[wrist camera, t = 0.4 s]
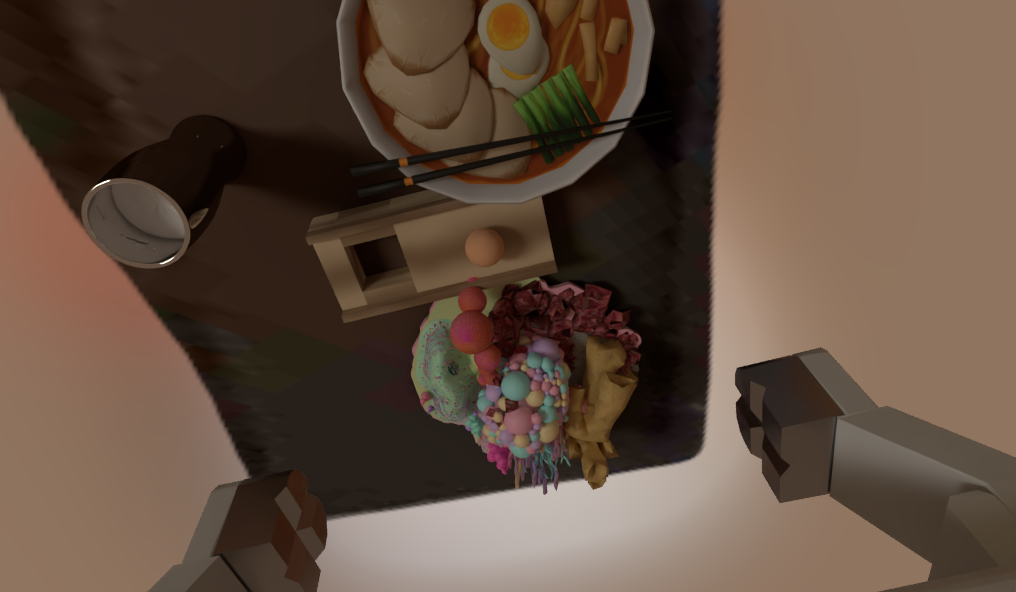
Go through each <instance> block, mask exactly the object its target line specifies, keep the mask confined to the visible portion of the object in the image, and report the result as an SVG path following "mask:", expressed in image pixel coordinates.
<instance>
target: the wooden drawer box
mask: <svg viewBox="0 0 1016 592" xmlns="http://www.w3.org/2000/svg"><path fill="white" fill-rule="evenodd" d="M481 228H489V229H492V230H494V231H496V232H497V233H498V234H499V235H500V236H501V238H502V240H503V243H504V252H503V255H502V257H501V259H500V260H499V261H498V262H497V263H496V264H494V265H492V266H490V267H480V266H477V265H475V264H473V263H472V262H471V261H470V260H469V259H468V257H467V255H466V251H465V244H466V240H467V238H468V237H469V235H470V234H471V233H472V232H473V231H475V230H477V229H481ZM396 234H397V237H398V240H399V243H400V245H401V248H402V251H403V254H404V256H405V259H406V262H407V265H408V266H407V267H403V268H398V269H394V270H390V271H386V272H382V273H378V274H374V275H369V276H365V273H364V271H363V268H362V266H361V264H360V261H359V259H358V256H357V254H356V251H355V249H354V247H353V245H355V244H359V243H363V242H367V241H371V240H376V239H380V238H384V237H388V236H392V235H396ZM305 238H306V240H307V242H308V245H311V244H313V246H314V248H315V250H316V252H317V255H318V257H319V259H320V261H321V264H322V266H323V268H324V270H325V272H326V275H327V277H328V279H329V281H330V283H331V286H332V288H333V290H334V292H335V295H336V297H337V299H338V301H339V303H340V306H341V308H342V310H343V312H342V316H341V317H342V319H343V321H344V323H346V322H350V321H355V320H359V319H363V318H367V317H371V316H376V315H380V314H384V313H388V312H392V311H397V310H401V309H405V308H409V307H413V306H418V305H422V304H426V303H430V302H434V301H439V300H443V299H447V298H451V297H455V296H459V294H460V293H461V292H462V291H463V290H464V289H466V288H468V287H477V288H480V289H481V290H485V289H489V288H493V287H497V286H502V285H506V284H510V283H514V282H518V281H523V280H527V279H531V278H535V277H539V276H544V275H548V274H552V273H556V272H558V271H557V267H556V263H555V260H554V255H553V250H552V245H551V240H550V236H549V231H548V226H547V221H546V216H545V212H544V207H543V202H542V197H538V198H536V199H533V200H531V201H528V202H525V203H523V204H467V203H464V202H461V201H459V200H456V199H453V198H451V197H448V196H445V195H443V194H440V193H437V192H435V191H432V190H425V191H420V192H416V193H412V194H408V195H404V196H400V197H396V198H392V199H388V200H384V201H380V202H376V203H372V204H368V205H364V206H360V207H356V208H351V209H347V210H343V211H339V212H335V213H331V214H327V215H323V216H319V217H315V218H313V220H312V222H311V225H310V227H309V229H308V232H307V234H306V237H305ZM471 277H477V278H478V279H477V280H475V281H472V282H467V280H468V279H469V278H471Z"/></svg>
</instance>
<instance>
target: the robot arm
mask: <svg viewBox="0 0 1016 592" xmlns="http://www.w3.org/2000/svg"><path fill="white" fill-rule="evenodd" d="M735 385H736V387H737V389H738V390H739V392H740V393H741V397H740V398H739V400H738V401H737V402H736V414H737V420H738V424H739V428H740V432H741V434H742V437H743V439H744V441H745V444H746V445H747V447H748V449H749V451H750V453H751V454H753V455H755V456H757V457H758V458H761V459H762V474H763V475H764V477H765V479H766V480H767V482H768V484H769V486H770V487H771V489H772V491H773V492H774V494H775V496H776V497H777V499H778V501H779V502H780V503H783V502H788V501H793V500H798V499H803V498H809V497H814V496H820V495H825V494H830V496H831V497H832V498H833V499H835V500H837V501H838V502H840V503H841V504H843V505H844V506H846V507H847V508H849V509H850V510H852V511H854V512H855V513H856V514H858V515H859V516H861V517H862V518H864V519H865V520H867V521H868V522H870V523H871V524H873V525H874V526H876V527H877V528H879V529H880V530H882V531H884V532H885V533H886V534H888V535H890V536H891V537H892V538H894V539H895V540H897V541H898V542H900V543H902V544H903V545H905V546H906V547H908V548H909V549H911V550H912V551H914V552H915V553H917V554H918V555H920V556H921V557H923V558H924V559H926V560H927V561H929V562H930V563H932V567H931V571H930V575H929V578H928V581H927V582H922V583H918V584H913V585H908V586H903V587H899V588H894V589H889V590H885V591H880V592H1016V457H1013V456H1011V455H1008V454H1006V453H1003V452H1001V451H998V450H995V449H993V448H991V447H988V446H986V445H983V444H981V443H978V442H976V441H973V440H971V439H968V438H966V437H963V436H961V435H958V434H956V433H953V432H951V431H948V430H946V429H944V428H941V427H938V426H936V425H933V424H931V423H929V422H926V421H924V420H921V419H919V418H916V417H914V416H911V415H908V414H906V413H904V412H901V411H899V410H896V409H893V408H891V407H889V406H885V407H880V408H879V407H878V406H877V405H876V404H875V403H874V402H873V401H872V400H871V399H870V398H869V396H868V395H867V394H866V393H865V392H864V391H863V390H862V389H861V388H860V386H859V385H858V384H857V383H856V382H855V381H854V380H853V379H852V378H851V376H850V375H849V374H848V373H847V372H846V371H845V370H844V369H843V368H842V367H841V365H840V364H839V363H838V362H837V361H836V360H835V359H834V358H833V357H832V355H830V354H829V352H828V351H827V350H825V349H823V348H817V349H813V350H809V351H805V352H800V353H796V354H793V355H792V356H790V355H789V356H785V357H781V358H777V359H772V360H768V361H764V362H760V363H755V364H751V365H748V366H743V367H739V368H737V370H736V373H735ZM307 486H308V481H307V479H306V478H305V476H304V474H303V473H302V471H301V470H295V469H294V470H289V471H284V472H279V473H274V474H269V475H264V476H259V477H254V478H249V479H244V480H243V481H238V482H233V483H228V484H223V485H218V486H217V487H216V488H215V489H214V490H213V491H212V492H211V494H210V496H209V499H208V501H207V504H206V506H205V508H204V511H203V513H202V516H201V518H200V521H199V523H198V526H197V528H196V530H195V533H194V535H193V538H192V540H191V542H190V545H189V547H188V550H187V552H186V554H185V557H184V559H183V562H182V564H179V565H175V566H173V567H172V568H171V569H170V570H169V571H168V572H167V573H166V574H165V575H164V576H163V577H162V578H161V579H160V580H159V581H158V582H157V583H156V584H155V585H154V586H153V587H152V588H151V589H150V590H149V591H148V592H317V587H318V582H319V577H320V572H321V570H320V569H319V567H318V566H317V564H316V562H315V560H316V559H317V558H318V556H319V555H320V554H321V552H322V551H323V550H324V549H325V545H326V538H327V520H326V515H325V512H324V509H323V506H322V504H321V503H320V501H319V499H318V498H317V497H315V496H313V495H311V494H309V493H307V492H306V490H307Z"/></svg>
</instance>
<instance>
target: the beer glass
mask: <svg viewBox="0 0 1016 592" xmlns="http://www.w3.org/2000/svg"><path fill="white" fill-rule="evenodd" d="M245 163H246V151H245V147H244V144H243V142H242V140H241V138H240V136H239V135H238V134H237V132H236V131H235V130H234V129H233V128H232V127H231V126H229V125H228V124H227V123H225V122H223V121H222V120H220V119H217V118H215V117H211V116H206V115H196V116H191V117H188V118H185V119H184V120H182V121H181V122H179V123H178V124H177V125H176V126H175V128H174V129H173V131H172V133H171V135H170V137H169V139H166V140H164V141H160V142H157V143H154V144H151V145H148V146H146V147H144V148H141V149H139V150H137V151H135V152H133V153H131V154H130V155H128V156H127V157H125V158H124V159H122V160H121V161H120V162H118V163H117V164H116V165H115V166H114V167H113V168H111V169H110V170H109V171H108V172H107V173H106V174H105V175H104V176H103V178H102V179H101V180H100V181H99V182H98V183H97V184H96V185H95V186H94V187H93V188H91V189H90V191H89V192H88V193H87V194H86V196H85V198H84V200H83V204H82V220H83V224H84V227H85V229H86V231H87V233H88V235H89V236H90V238H91V239H92V240H93V242H94V243H95V244H96V245H97V246H98V247H99V248H100V249H101V250H102V251H103V252H105V253H106V254H107V255H109V256H110V257H112V258H114V259H116V260H118V261H120V262H122V263H124V264H127V265H130V266H134V267H139V268H159V267H164V266H167V265H170V264H172V263H174V262H175V261H177V260H178V259H179V258H180V257H181V256H182V255H183V254H184V253H185V251H186V250H188V249H189V248H190V247H191V246H192V245H193V244H194V243H195V242H196V241H197V240H198V239H199V237H200V236H201V235H202V234H203V233H204V231H205V230H206V229H207V227H208V226H209V224H210V223H211V221H212V220H213V218H214V216H215V214H216V212H217V209H218V207H219V204H220V201H221V197H222V194H223V190H224V186H225V185H226V184H228V183H229V182H231V181H233V180H234V179H236V178H237V177H238V176H239V175H240V173H241V172H242V171H243V169H244V166H245Z"/></svg>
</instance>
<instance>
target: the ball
mask: <svg viewBox="0 0 1016 592" xmlns="http://www.w3.org/2000/svg"><path fill="white" fill-rule="evenodd" d="M465 251H466V255H467V257H468V259H469V260H470V261H471V262H472V263H473V264H475V265H477V266H480V267H490V266H492V265H494V264H496V263H497V262H498V261H499V260H500V259H501V257H502V255H503V252H504V243H503V240H502V238H501V236H500V235H499V234H498V233H497V232H496V231H494V230H492V229H489V228H481V229H477V230H475V231H473V232H472V233H471V234H470V235H469V237H468V238H467V240H466V244H465Z"/></svg>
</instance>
